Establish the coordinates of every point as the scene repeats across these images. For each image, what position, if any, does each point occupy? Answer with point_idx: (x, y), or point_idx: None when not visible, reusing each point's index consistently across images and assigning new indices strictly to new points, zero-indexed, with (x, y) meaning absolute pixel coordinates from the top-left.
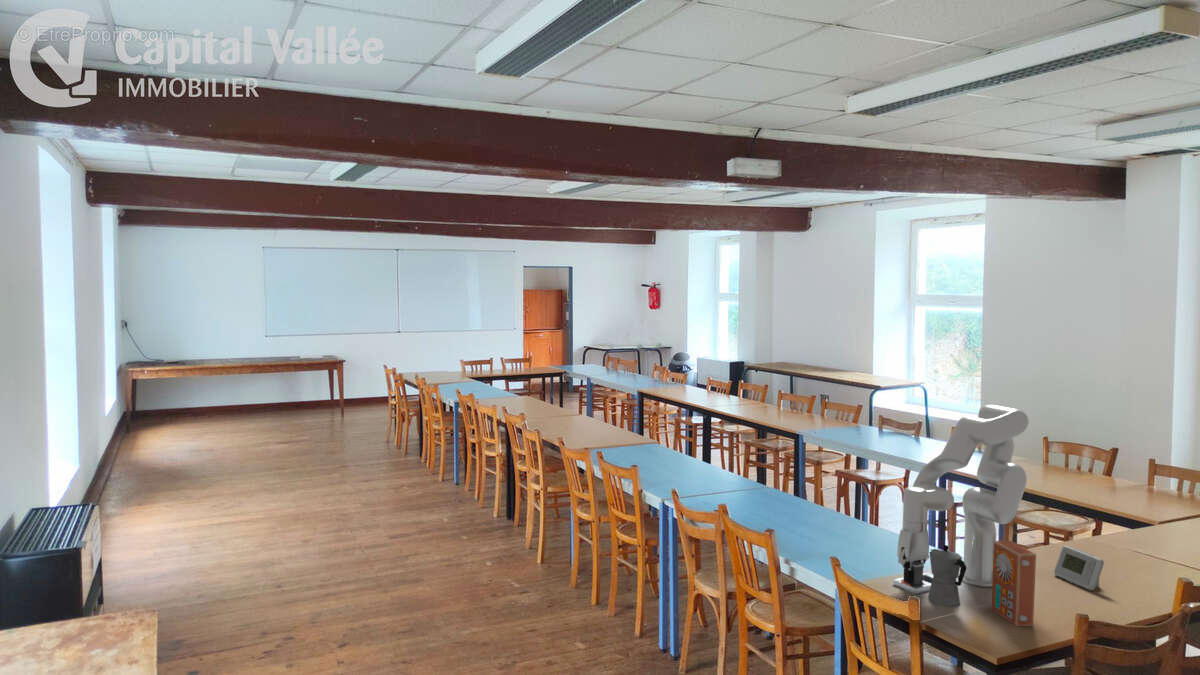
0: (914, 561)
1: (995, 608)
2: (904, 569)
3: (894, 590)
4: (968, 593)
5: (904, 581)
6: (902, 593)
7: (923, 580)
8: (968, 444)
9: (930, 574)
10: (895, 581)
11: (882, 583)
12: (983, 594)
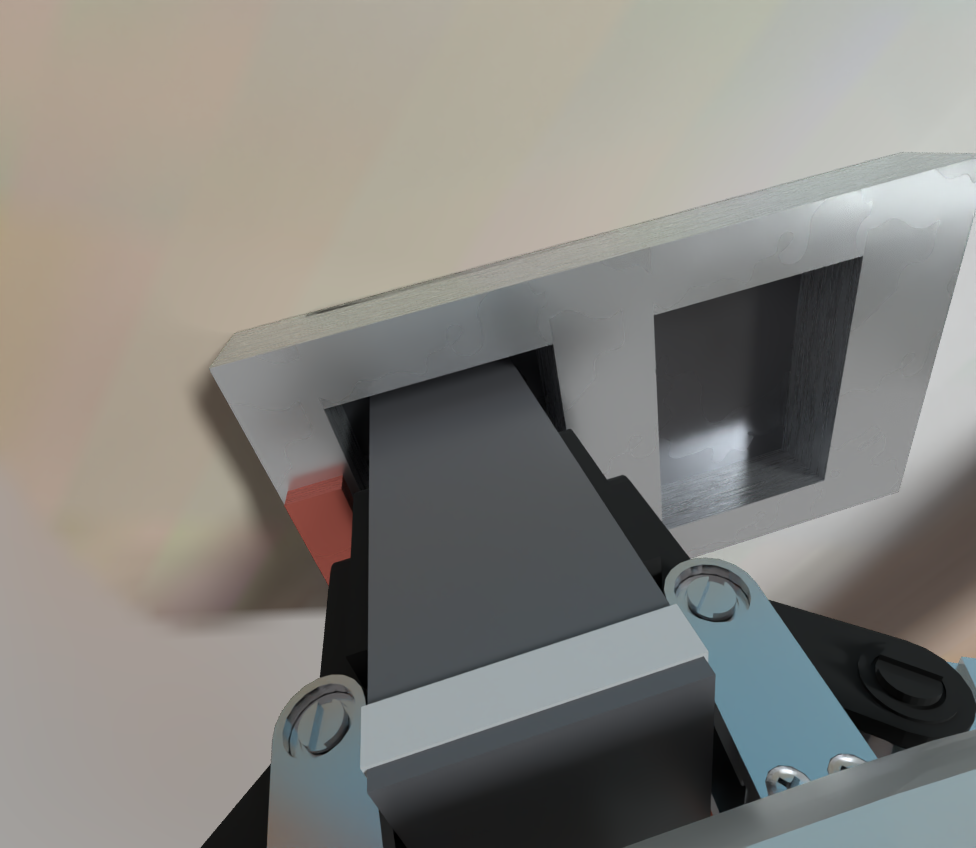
0: (621, 817)
1: (711, 815)
2: (376, 572)
3: (175, 489)
4: (840, 577)
5: (329, 525)
6: (243, 568)
7: (654, 452)
8: None
9: (941, 254)
10: (236, 400)
11: (66, 212)
12: (910, 593)
